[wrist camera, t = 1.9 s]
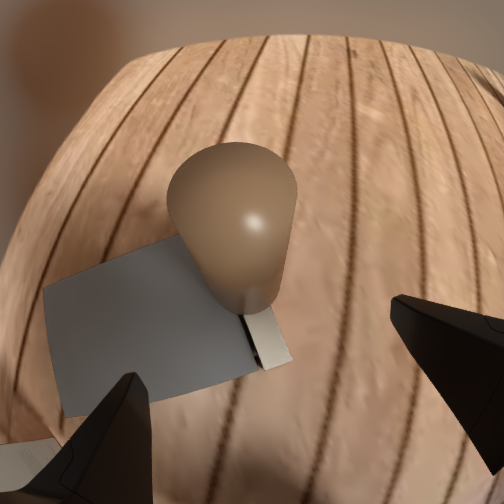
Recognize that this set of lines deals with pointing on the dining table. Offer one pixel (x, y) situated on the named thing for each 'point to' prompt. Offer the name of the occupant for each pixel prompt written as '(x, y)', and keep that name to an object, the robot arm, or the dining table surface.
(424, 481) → the dining table surface
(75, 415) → the grey drawer housing
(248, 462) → the dining table surface
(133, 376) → the robot arm
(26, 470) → the small box
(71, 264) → the dining table surface
